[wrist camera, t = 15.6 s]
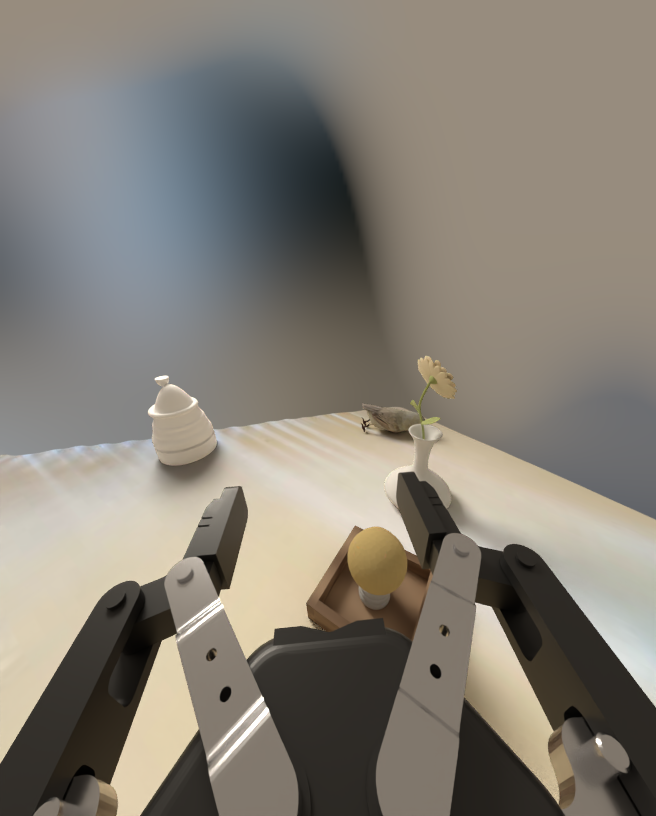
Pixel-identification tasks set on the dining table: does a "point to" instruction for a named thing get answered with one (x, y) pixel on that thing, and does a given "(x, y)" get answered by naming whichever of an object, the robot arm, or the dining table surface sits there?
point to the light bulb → (377, 565)
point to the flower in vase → (425, 434)
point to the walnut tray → (343, 604)
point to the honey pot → (179, 426)
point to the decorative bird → (390, 418)
